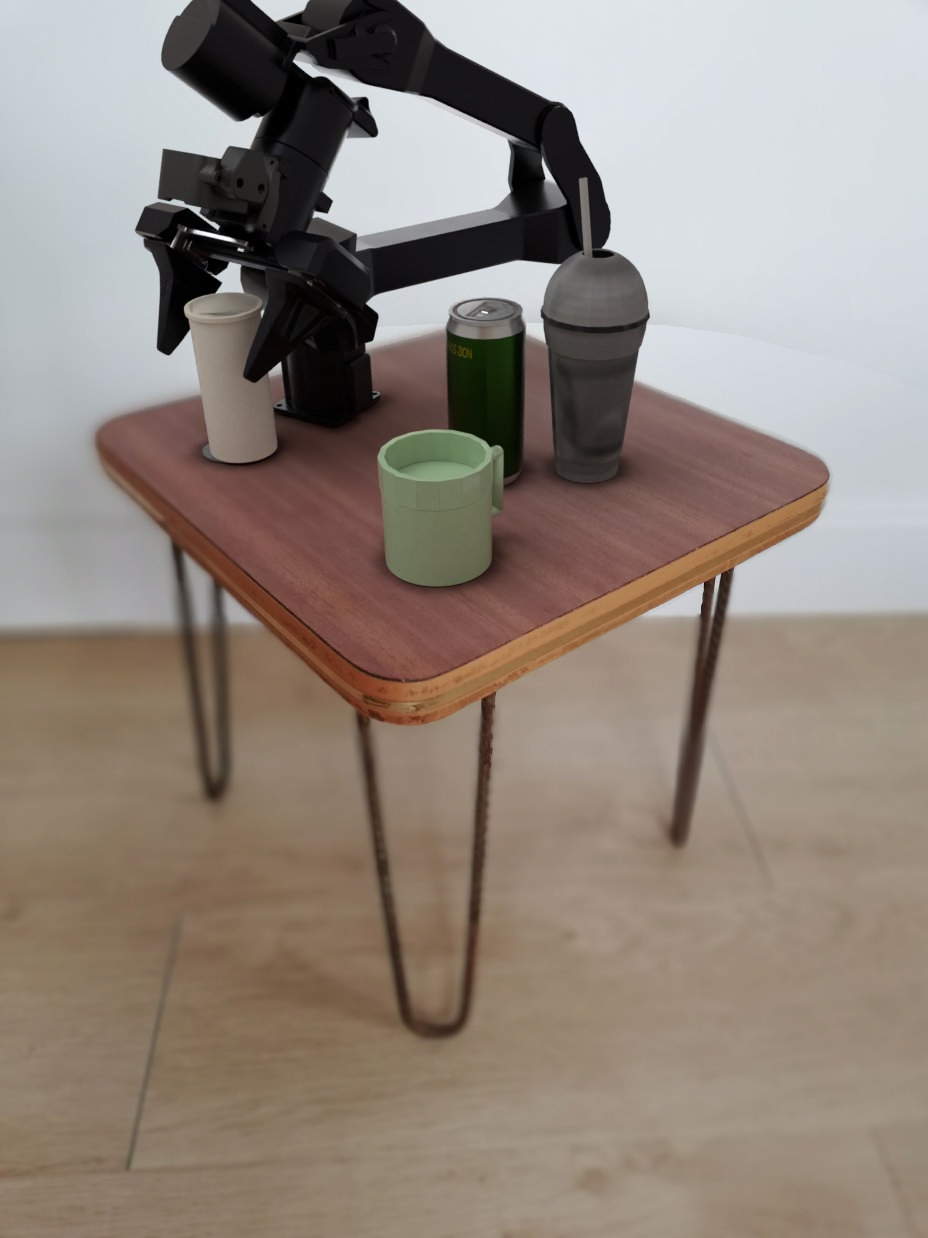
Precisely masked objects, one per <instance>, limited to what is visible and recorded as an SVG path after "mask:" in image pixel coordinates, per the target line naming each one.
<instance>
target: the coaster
mask: <svg viewBox="0 0 928 1238" xmlns="http://www.w3.org/2000/svg"><path fill="white" fill-rule="evenodd" d="M202 456H203V457H204V458H205V459H206V460H208V461H209V462H213V463H219V464H228V463H229V462H224V461H221V460H218V459H216V458H215V457H213V456H212V454H211V452H210V446H209V443H207V444H206V445H204V447H203V448H202ZM229 464H230V463H229Z"/></svg>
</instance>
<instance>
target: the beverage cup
mask: <svg viewBox="0 0 928 1238" xmlns="http://www.w3.org/2000/svg"><path fill="white" fill-rule="evenodd" d="M579 185H580V200H581V215H582V230H583V245H584V251H581V252H578V253H576V254H574V255H572V256H571V257H569V258H568V259H567V260H565V261H564V262H563V263H562V264H559V266H558V267H557V268H556V270H555V271H554V272H553V274H552V275H551V276H550V279H549V280H548V283H547V285H546V287H545V291H544V295H543V301H542V302H543V303H542V305H541V308H540V318H541V319H542V325H543V334H544V338H545V339H544V340H545V346H547V353H548V354H547V355H548V370H549V371H548V372H549V374H548V375H549V393H550V408H551V409H550V410H551V427H552V428H551V429H552V444H553V445H552V446H553V447H552V448H553V452H554V462H555V472H556V473H557V474H558V475H559V476H560V477H562V478H563V479H565V480H568V481H571V482H575V483H579V484H595V483H596V484H597V483H602V482H605V481H608V480H611V479H612V478H614V477H615V476H616V475H617V473H618V471H619V463H620V458H621V454H622V452H623V446H624V441H625V434H626V430H627V423H628V417H629V412H630V406H631V399H632V394H633V388H634V381H635V375H636V370H637V364H638V359H639V352H640V348H641V347H642V345H643V341H644V338H645V335H646V330H647V324H648V321H649V320H650V319H651V314H650V309H649V297H648V292H647V288H646V285H645V282H644V278H643V277H642V275H641V273H640V271H639V270H638V268H637V267H636V265H635V264H633V262H632V261H630V259H628V258H627V257H626V256H624V255H623V254H621V253H619V252H616V251H614V250H611V249H608V248H593V249H592V243H591V228H590V213H589V198H588V183H587V178H580V179H579Z"/></svg>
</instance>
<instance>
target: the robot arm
mask: <svg viewBox="0 0 928 1238" xmlns="http://www.w3.org/2000/svg"><path fill="white" fill-rule="evenodd" d="M160 61H161V65H162V67H163V68H164V69H165V70H166V71H167V72H169V74H171V75H172V76H174V77H175V78H176V79H178V80H179V81H180V82H182V83H183V84H184V85H186V86H187V87H188V88H190V90H191V91H194V93H196V94H197V95H199V96H200V97H201V98H203V99H204V100H205V101H207V102H208V103H209V104H211V105H212V106H213V107H215V108H216V109H217V110H218V111H219V112H221V113H222V114H224V115H225V116H227V117H228V119H230V120H231V121H233V122H234V123H241V122H244V121H246V120H249V119H250V118H255V119H259V118H261V121H260V123H259V125H258V128H257V130H256V132H255V135H254V137H253V140H252V142H251V144H250V146H249V148H247V147H241V146H234V145H229V146H228V147H227V148H226V149H225V151H224V153H223V155H222V156H221V158H219V157H216V156H215V157H214V156H208V155H204V154H199V153H194V152H188V151H181V150H175V149H170V148H162V151H161V152H162V153H161V159H160V160H161V161H160V169H159V178H158V189H157V197H156V198H157V199H158V200H161V201H157V202H154V203H150V204H148V205H145V206H144V207H143V209H142V212H141V214H140V216H139V219H138V221H137V224H136V226H135V227H134V228H135V229H134V231H135V234H136V235H137V236H140V237H141V238H143V240H142V241H143V243H142V244H143V247H144V249H145V250H147V251H148V252H150V253H151V255H152V257H153V260H154V262H155V264H156V267H157V269H158V273H159V274H158V277H159V299H158V301H159V302H158V317H157V331H156V332H157V333H156V335H157V336H156V350H157V351H158V352H160V353H161V354H163V355H165V356H171V355H172V354H173V353H174V351H175V350H176V349H177V348H178V347H179V346H180V344H181V343H182V342H183V341H184V339H185V338H186V336H187V335H188V333H189V332H191V330H190V324H189V319H188V318H187V317H186V316H185V312H184V307H185V305H186V304H187V303H188V302H190V301H191V300H193V299H196V298H198V297H201V296H205V295H209V294H215V293H218V291H219V289H220V288H221V286H222V284H223V281H221V280H220V279H218V278H217V276H218V275H220V274H221V273H222V272H224V271H225V270H227V269H228V266H229V264H230V263H232V264H236V265H240V271H239V276H240V278H239V280H240V285H241V289H242V291H243V293H247V294H251V295H255V296H257V297H259V298H260V299H261V300H262V302H263V310H262V311H263V313H262V315H261V317H262V319H261V321H260V324H259V327H258V329H257V332H256V335H255V337H254V340H253V343H252V346H251V348H250V351H249V354H248V357H247V360H246V364H245V368H244V372H243V377H244V379H246V380H248V381H250V382H252V383H257V382H258V381H259V380H260V379H261V378H262V377H264V376H265V375H266V374H267V373H269V372H271V371H272V370H273V369H274V368H275V367H276V366H278V365H279V364H280V368H281V376H282V384H283V393H284V398H282V399H281V400H279V401H278V402H276V403H274V404H272V405H273V413H276V414H281V415H285V416H289V417H292V418H296V419H300V420H304V421H308V422H313V423H317V424H321V425H325V426H328V427H335V428H337V427H340V426H342V425H343V424H345V423H347V422H348V421H349V420H351V419H353V418H354V417H356V416H358V415H359V414H360V413H362V412H363V411H365V410H366V409H368V408H369V407H371V406H372V405H374V404H376V403H377V402H379V401H380V400H381V397H382V395H381V392H379V391H375V390H373V374H372V361H371V360H372V359H371V354H370V353H369V352H367V347H366V346H367V345H366V344H368V343H372V342H373V341H374V339H375V336H376V332H377V327H378V323H379V318H380V315H379V313H378V312H377V311H376V310H374V309H373V308H372V307H371V306H370V305H368V304H367V303H369V302H370V300H371V299H372V298H374V297H376V296H377V295H380V294H385V293H388V292H393V291H397V290H402V289H405V288H409V287H414V286H417V285H422V284H426V283H429V282H434V281H439V280H442V279H447V278H450V277H454V276H459V275H463V274H468V273H471V272H475V271H479V270H483V269H487V268H493V267H496V266H500V265H505V264H509V263H511V262H512V263H513V262H517V261H518V262H520V261H521V262H532V263H540V264H550V265H561V264H562V263H563V262H564V261H565V260H567V259H568V258H569V257H571V256H572V255H574V254H576V253H578V252H581V251H584V245H583V230H582V215H581V200H580V185H579V179H580V178H587V183H588V198H589V213H590V228H591V243H592V249H593V248H602V249H604V246H605V245H606V244H607V241H608V240H609V238H610V234H611V230H612V226H611V225H612V215H611V214H612V213H611V210H610V207H609V203H607V200H606V199H607V198H606V195H605V190H604V186H603V181H602V178H601V176H600V174H599V172H598V171H597V169H596V167H595V166H594V163H593V162H592V159H591V158H590V156H589V154H588V153H587V150H586V149H585V147H584V146H583V144H582V142H581V139H580V135H579V131H578V126H577V121H576V119H575V116H574V114H573V112H572V111H571V110H570V109H569V107H568V106H566V105H565V104H564V103H563V102H560V101H556V100H552V99H549V98H545V97H544V96H542V95H540V94H539V93H536V92H534V91H532V90H530V89H529V88H526V87H525V86H523V85H520V84H519V83H517V82H515V81H513V80H511V79H510V78H507V77H505V76H503V75H502V74H499V73H497V72H495V71H494V70H492V69H490V68H488V67H486V66H484V65H482V64H480V63H478V62H476V61H474V60H472V59H470V58H468V57H466V56H464V55H463V54H460V53H458V52H457V51H455V50H453V49H451V48H449V47H447V46H446V45H445V44H443V43H442V42H441V40H439V39H437V38H436V36H434V34H433V32H432V31H431V30H430V29H429V27H428V25H427V24H426V23H425V21H423V20H421V18H419V16H417V15H416V14H415V13H413V12H412V11H411V10H410V9H408V8H407V7H406V6H405V5H404V4H403V3H401V2H400V1H399V0H308V1H307V2H306V5H305V7H304V9H302V10H300V11H298V12H295V13H292V14H290V15H288V16H285V17H283V18H280V19H277V20H274V19H273V18H272V17H270V16H269V15H268V14H267V13H266V12H265V11H264V10H263V9H261V8H260V7H259V6H258V5H257V4H255V2H253V0H191V1H189V3H188V4H187V5H186V7H185V8H183V11H181V13H180V14H179V15H175V16H174V17H173V19H172V22H171V23H170V25H169V27H168V29H167V32H166V34H165V37H164V39H163V42H162V46H161V52H160ZM294 61H295V62H298V63H302V64H307V65H310V66H311V67H312V68H314V69H315V70H316V71H318V72H320V73H321V74H324V75H326V76H324V75H318V76H314V77H313V76H312V75H310V74H308V73H307V72H306V71H305V70H304V69H302V67H300V66H299V65H297V64H296V63H295V62H294ZM327 76H330V77H334V78H338V79H342V80H345V81H346V80H347V81H350V82H354V83H358V84H362V85H366V86H370V87H375V88H380V89H385V90H389V91H392V92H393V91H394V92H397V93H398V92H399V93H403V94H409V95H411V96H413V97H416V98H418V99H420V100H422V101H425V102H426V103H428V104H431V105H433V106H435V107H438V108H439V109H441V110H444V111H446V112H448V113H450V114H453V115H454V116H457V117H458V118H461V119H463V120H465V121H467V122H470V123H472V124H474V125H476V126H479V127H480V128H482V129H485V130H487V131H489V132H491V133H493V134H495V135H498V136H500V137H502V138H504V139H506V140H507V143H508V147H509V150H510V153H509V154H510V156H509V165H508V172H507V173H508V175H507V185H508V188H509V191H510V192H509V193H508V194H507V195H506V196H505V197H504V198H503V199H502V200H501V202H499V203H498V204H497V205H496V206H494V207H492V208H487V209H483V210H478V211H474V212H468V213H463V214H459V215H455V216H450V217H446V218H441V219H436V220H431V221H427V222H422V223H416V224H413V225H407V226H402V227H398V228H393V229H392V228H391V229H388V230H383V231H379V232H374V233H370V234H364V235H360V236H358V233H357V232H354V231H351V230H350V229H348V228H345V227H342V226H341V225H338V224H336V223H333V222H330V221H329V220H326V219H324V218H322V217H320V216H315V217H314V215H315V213H316V212H317V213H322V214H326V215H328V214H329V212H330V210H331V208H332V205H333V203H334V200H333V199H332V198H331V197H330V196H329V195H327V194H326V192H325V189H326V187H327V184H328V182H329V179H330V178H331V175H332V172H333V169H334V168H335V165H336V163H337V160H338V158H339V156H340V153H341V152H342V148H343V146H344V144H345V141H346V139H349V140H350V139H375V138H377V137H378V136H379V128H378V125H377V122H376V119H375V117H374V115H373V113H372V112H371V107H370V100H369V97H367V96H354V97H353V96H352V97H350V95H348V94H347V93H346V92H345V91H344V90H343V89H341V88H340V87H339V86H338V85H336V84H335V83H334V82H333V81H332V80H331V78H328V77H327ZM543 162H544V165H545V167H546V169H547V171H548V172H549V174H550V175H551V178H552V180H551V179H547V178H546V174H545V169H544V166H543ZM173 200H176V201H180V202H183V204H184V205H186V206H190V207H191V206H192V207H196V208H200V209H199V212H198V213H199V214H197V213H196V212H194V210H192V209H190V208H189V207H185V206H181V205H176V204H171V203H167V202H172V201H173ZM162 201H166V202H162ZM200 215H201V216H202V217H201V216H200ZM204 218H205V219H206V220H205V219H204ZM207 221H209V222H211V223H214V224H216V225H217V226H218V229H217V228H216V227H215V226H213V225H212V224H211V223H209V222H207ZM239 249H240V250H239ZM242 250H243V251H242Z"/></svg>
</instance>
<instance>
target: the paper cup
mask: <svg viewBox="0 0 928 1238" xmlns="http://www.w3.org/2000/svg"><path fill="white" fill-rule="evenodd" d="M263 311H264V310H263V302H262V300H261V299H260V298H259V297H257V296H255V295H251V294H247V293H244V292H238V291H237V292H235V291H233V292H231V291H229V292H216V293H215V294H209V295H205V296H201V297H198V298H196V299H193V300H191V301H190V302H188V303H187V304H186V305H185V307H184V312H185V316H186V317H187V318H188V319H189V324H190V336H191V342H192V348H193V355H194V360H195V361H194V362H195V366H196V372H197V379H198V386H199V390H200V396H201V403H202V408H203V409H202V410H203V415H204V421H205V427H206V432H207V439H208V444H209V446H210V452H211V454H212V456H213V457H215V458H216V459H218V460H221V461H224V462H229V464H247V463H253V462H257V461H260V460H263V459H265V458H267V457H269V456H271V455H273V454H274V453H275V452H276V451H277V449H278V438H277V430H276V421H275V412H274V410H273V405H274V404H273V397H272V389H271V382H270V373H269V372H268V373H267V374H266V375H265V376H264V377H262V378H261V379H260V380H259V381H258V382H257V383H252V382H250V381H248V380H246V379H244V377H243V372H244V368H245V364H246V360H247V357H248V354H249V351H250V348H251V346H252V343H253V340H254V337H255V335H256V332H257V329H258V327H259V324H260V321H261V319H262V312H263Z"/></svg>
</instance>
